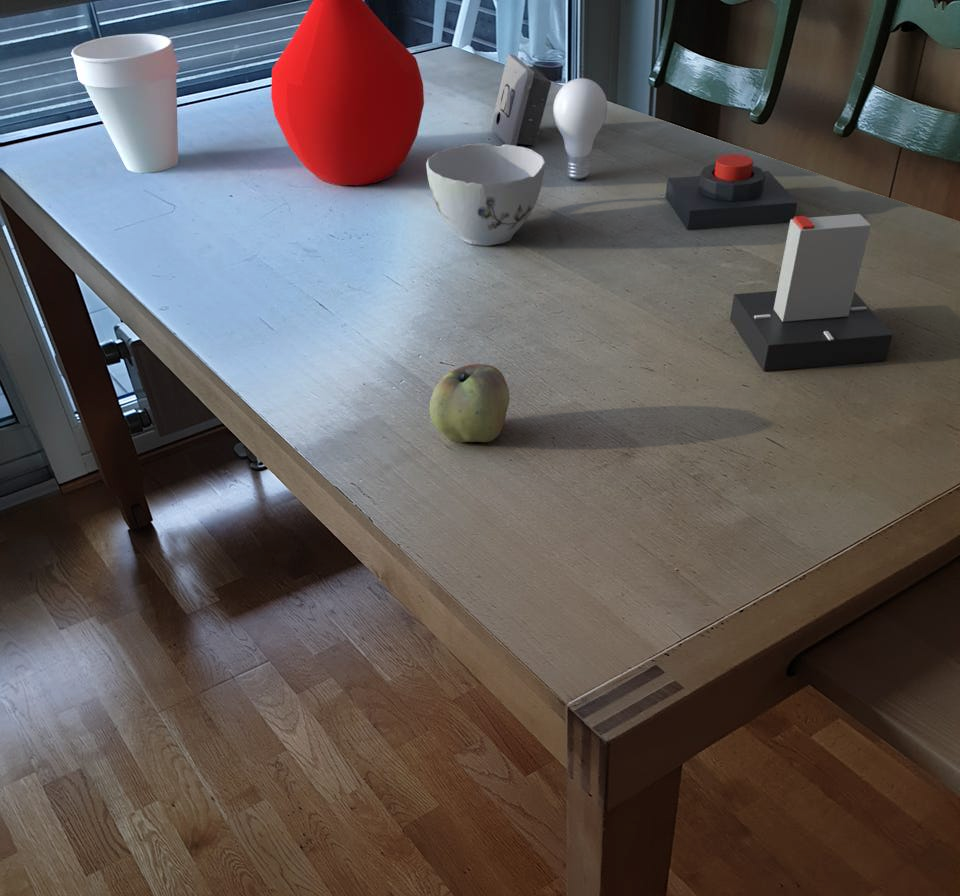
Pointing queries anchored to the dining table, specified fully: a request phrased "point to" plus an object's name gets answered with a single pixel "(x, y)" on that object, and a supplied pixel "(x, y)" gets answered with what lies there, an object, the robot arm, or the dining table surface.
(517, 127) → the electrical switch
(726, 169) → the power button
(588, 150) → the lightbulb
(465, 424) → the apple
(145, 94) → the cup
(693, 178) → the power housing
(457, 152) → the teacup
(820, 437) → the dining table surface
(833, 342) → the dial panel
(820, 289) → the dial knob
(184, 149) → the dining table surface
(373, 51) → the vase
